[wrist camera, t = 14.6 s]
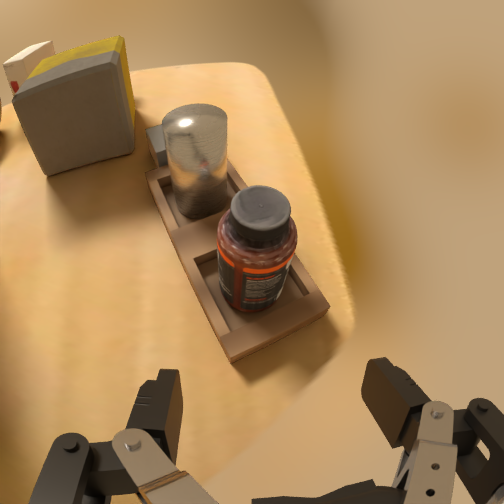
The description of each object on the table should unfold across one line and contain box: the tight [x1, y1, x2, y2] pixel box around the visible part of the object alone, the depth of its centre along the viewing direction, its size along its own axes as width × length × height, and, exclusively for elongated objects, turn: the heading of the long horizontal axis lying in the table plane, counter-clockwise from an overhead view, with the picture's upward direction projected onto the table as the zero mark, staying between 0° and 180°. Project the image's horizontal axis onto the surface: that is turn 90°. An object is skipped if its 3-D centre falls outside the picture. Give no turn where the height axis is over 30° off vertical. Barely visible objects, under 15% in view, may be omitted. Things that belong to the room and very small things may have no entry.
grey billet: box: [162, 104, 227, 220], centre depth 30 cm, size 6×6×11 cm
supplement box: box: [3, 41, 55, 96], centre depth 44 cm, size 9×9×15 cm
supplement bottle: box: [217, 185, 297, 312], centre depth 24 cm, size 6×6×11 cm
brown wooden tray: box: [145, 159, 330, 364], centre depth 32 cm, size 24×10×2 cm, turn 28°
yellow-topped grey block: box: [12, 36, 135, 176], centre depth 38 cm, size 15×24×15 cm, turn 16°
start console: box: [145, 124, 168, 168], centre depth 38 cm, size 8×6×5 cm
